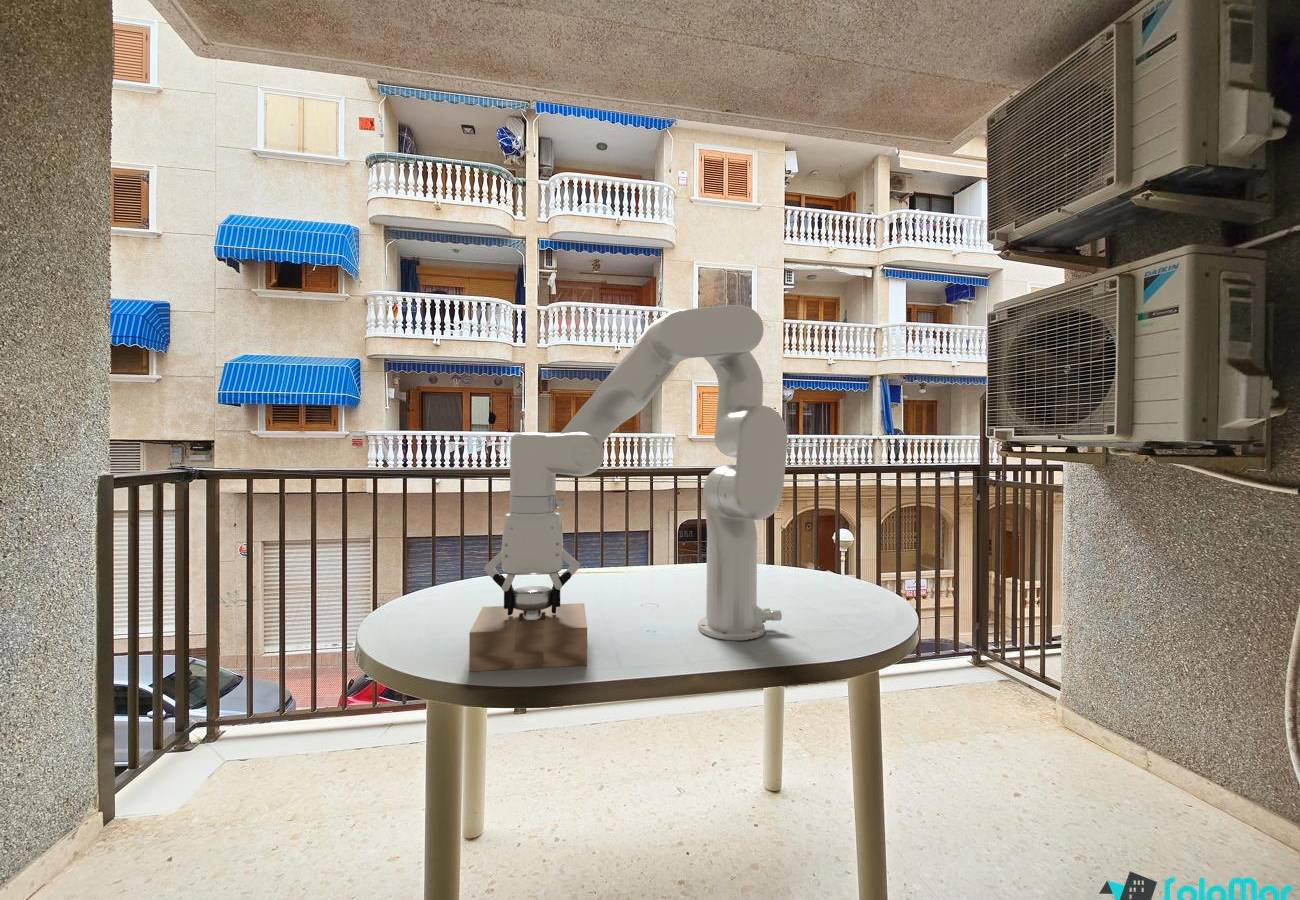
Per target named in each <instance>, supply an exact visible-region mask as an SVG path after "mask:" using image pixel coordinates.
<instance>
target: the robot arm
mask: <svg viewBox="0 0 1300 900" xmlns="http://www.w3.org/2000/svg"><path fill="white" fill-rule="evenodd" d="M764 329H765V328H764V323H763V320H762V318H761V316H760V315H759V313H758V312H757V311H756V310H754V309H753V308H752V307H749V306H746V305H742V304H729V305H728V304H727V305H718V306H708V307H707V306H706V307H696V308H695V307H692V308H683V309H677V310H673V311H670V312H668V313H666V314H664V315H663V316H661V317H660V318H658V319H656V320H654V322H652V323H651V324H650V325H648V327H647V328H645V330H644V331H643V332H642V333H641V335H639V337H638V339H637V340H636V341H635V342H634V344H633V345H632V346H631V347H630V349H629V350H628V351H627V352H626V354H625V355H624V356H623V357H622V359H621V360H620V361H619V362H618V363H617V365H616V366H615V367H614V368H613V369H612V371H611V372H610V373H609V374H608V376H607V377H606V378H605V379H604V380H603V382H601V383H600V385H599V386H598V387H597V388H596V390H595V391H594V392H593V394H592V395H591V396H590V397H589V398H588V399H587V401H586V402H585V403H584V404H583V405H582V406H581V407H580V409H579V410H578V411H577V412H576V413H575V414H574V415H573V416H572V418H571V420H570V421H569V422H568V423H567V424H566V426H565V427H564V428H563V429H562V430H561V432H560V433H558V434H550V433H547V432H545V433H544V432H520V433H516V434H514V435H512V437H511V438H510V444H509V445H510V447H509V449H510V451H509V454H510V455H509V458H510V459H509V461H510V462H509V474H510V475H509V489H510V490H509V513H506V514H505V519H504V523H503V529H502V539H501V551H500V552H499V553H497V554H496V555H495V556H494V557H493V558H492V559H491V560H490V561H489V562H488V563H486V564H485V566H484V567H483V570H484V572H485V573H486V574H487V575H488V576H489V577H490V578H491V579H492V580H493V581H494V583H496V584H497V585H498V586H499V587H500V588H501V590H502V592H503V606H504V609H508V615H511V614H513V610H514V608H513V590H515V589H514V587H513V582H514V579H515V577H516V576H521V575H522V576H523V575H525V576H526V575H548V576H549V577H550V580H551V582H552V586H551V589H552V613H556V607H560V604H561V589H562V587H563V586H564V585H566V583H567V582H568V581H569V580H570V579H571V578H572V577H573V576H574V575H575V573H576V572H577V571H578V570H579V569H580V568H581V565H580V562H579V561H577V560H576V559H575V558H574V557H573V556H572V555H571V554H570V553H569V552H567V550H566V549H564V540H563V539H564V537H563V536H564V535H563V534H564V533H563V524H562V518H561V514H560V512H556V509H558V508H562V507H564V506H565V499H564V498H559V497H557V496H556V493H557V492H556V490H557V489H556V486H557V485H556V480H557V478H556V476H557V475H556V474H558V475H567V476H574V477H585V476H588V475H592V474H593V473H595V472H596V471H597V470H598V469H599V468H601V466H602V464H603V462H604V459H605V450H604V449H605V448H604V447H603V443H604V442H605V441H606V440H607V438H608V437H610V436H611V434H612V433H613V432H614V431H616V429H617V428H618V427H620V426H621V425H622V424H624V423H625V422H626V421H628V420H629V419H631V418H633V417H634V416H635V415H637V414H638V413H640V411H642V409H644V408H645V407H646V406H647V405H648V404H649V403H650V401H651V399H652V398H653V397H654V396H655V394H656V393H657V391H658V390H659V389H660V387H662V386H663V384H664V383H665V381H666V380H667V378H668V377H669V376H670V375H671V373H672V372H673V371H674V370H675V368H676V367H677V366H678V364H680V362H682V361H685V360H688V359H693V358H703V359H704V360H706V362H707V363H708V364H709V365H710V366H711V367H712V369H713V372H714V373H715V375H716V378H717V386H718V389H717V390H718V391H717V392H718V393H717V395H718V396H717V404H716V405H717V407H716V415H715V416H716V417H715V427H714V442H715V446H716V448H717V449H718V451H719V452H720V453H721V454H723V455H724V456H727V457H730V458H736V461H735V464H725V465H720V466H718V467H716V468H714V469H713V470H712V471H711V472H710V473H709V474H708V475H707V477H706V479H705V481H704V482H703V483H704V484H703V491H702V497H703V499H702V500H703V506H704V513H705V521H706V606H705V607H706V609H705V610H706V615H705V616H706V617H703V618H702V619H700V620H699V621H698V626H697V627H698V630H699V632H700V633H702V634H703V635H705V636H707V637H710V638H714V639H719V640H724V641H749V639H750V640H755V639H757V638H760V637H762V636H763V635H764V634H765V633H766V627H765V623H767V621H771V622H776V621H782V618H783V617H782V616H783V615H782V612H781V610H780V609H776V610H774V609H773V610H771V609H770V608H769V607H768V608H767V607H766V608H765V607H764V608H761V607H759V606H758V602H757V601H758V600H757V598H758V593H757V592H758V589H757V588H758V585H757V584H758V582H757V581H758V575H757V574H758V532H757V527H756V521H762V520H766V519H768V518H769V517H771V516H772V515H773V514H774V513H775V512H776V511H777V510H778V508H779V506H780V503H781V500H782V497H783V494H784V493H783V492H784V484H785V483H784V482H785V474H786V463H787V452H788V451H787V450H788V431H787V428H786V424H785V421H784V419H783V417H782V416H781V414H780V413H779V412H778V411H776V410H775V409H774V408H772V407H770V406H767V405H763V402H764V401H763V400H764V399H763V397H764V396H763V395H764V379H763V374H762V371H761V368H760V366H759V364H758V362H757V360H756V358H755V357H754V356H753V354H752V351H754V349H756V348H757V347H758V346H759V345H760V343H761V341H762V339H763V337H764V331H765V330H764ZM564 562H565V563H566V564H567V565H568V566H569V567H568V568H567V569H566V570H565V571H564V572H563V573H562V574H561V575H560V574H559V572H561V571H562V569H563V564H564ZM499 564H501V571H502V572H503V573H504V574H506V577H505V576H504V575H503V574H502V573H500V572H499V571H498V570H497V568H496V567H497V566H498V565H499ZM764 632H765V633H764ZM754 638H755V639H754Z"/></svg>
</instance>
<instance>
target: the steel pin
mask: <svg viewBox="0 0 1300 900" xmlns="http://www.w3.org/2000/svg"><path fill="white" fill-rule="evenodd" d="M551 605H552V587H549V586H545V585H544V586H543V585H527V586H521V587H517V588H515V589H514V590H513V608H515V609H517V610H523V621H531V620H541V610H542V609H546V608H548V607H550V606H551Z"/></svg>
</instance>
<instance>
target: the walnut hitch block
mask: <svg viewBox="0 0 1300 900" xmlns="http://www.w3.org/2000/svg"><path fill="white" fill-rule="evenodd" d="M468 651H469V658H468V659H469V660H468V661H469V662H468V664H469V665H468V666H469V667H468V668H469V669H468V671H469V672H484V671H500V670H501V671H502V670H503V671H504V670H520V669H523V670H524V669H539V668H541V669H542V668H559V667H560V668H561V667H563V668H564V667H579V666H587V665H588V623H587V615H586V607H585V603H583V602H577V603H560V607H556V613H552V605H551V606H550V607H548V608H546V609H542V610H541V620H531V621H523V610H517V609H515V608H514V610H513V614H511V615H508V609H504V605H500V606H499V605H497V606H482V607H481V610H480V611H479V614H478V615H477V618H476V619H475V621H474V622H473V625H472V627H471V629H470V631H469V649H468Z"/></svg>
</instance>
